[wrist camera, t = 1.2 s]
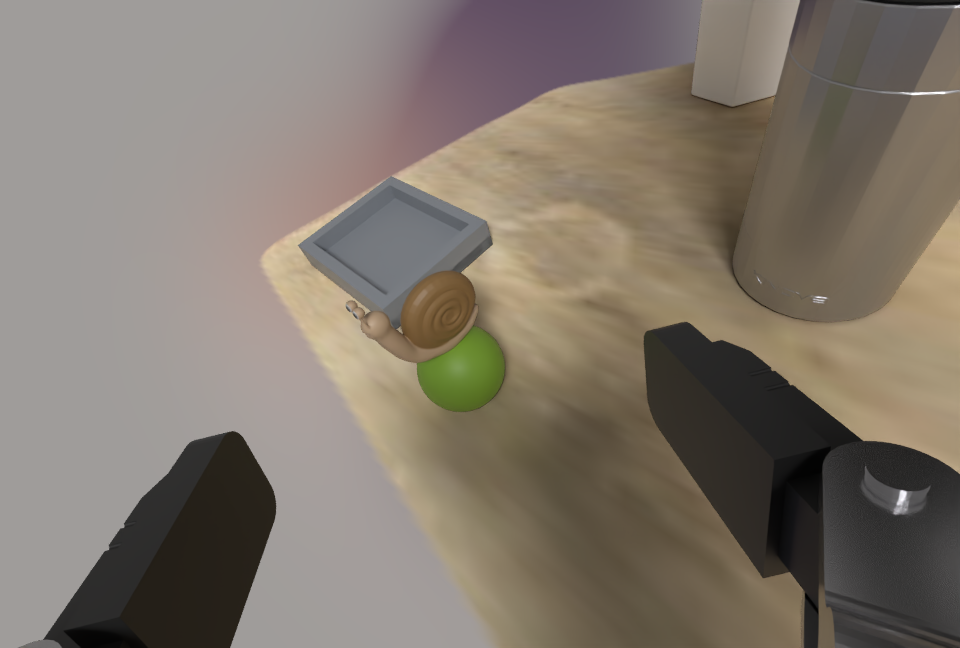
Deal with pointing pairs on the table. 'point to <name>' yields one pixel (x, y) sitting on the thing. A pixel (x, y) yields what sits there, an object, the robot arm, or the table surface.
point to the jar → (741, 49)
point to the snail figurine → (442, 341)
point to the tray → (394, 245)
